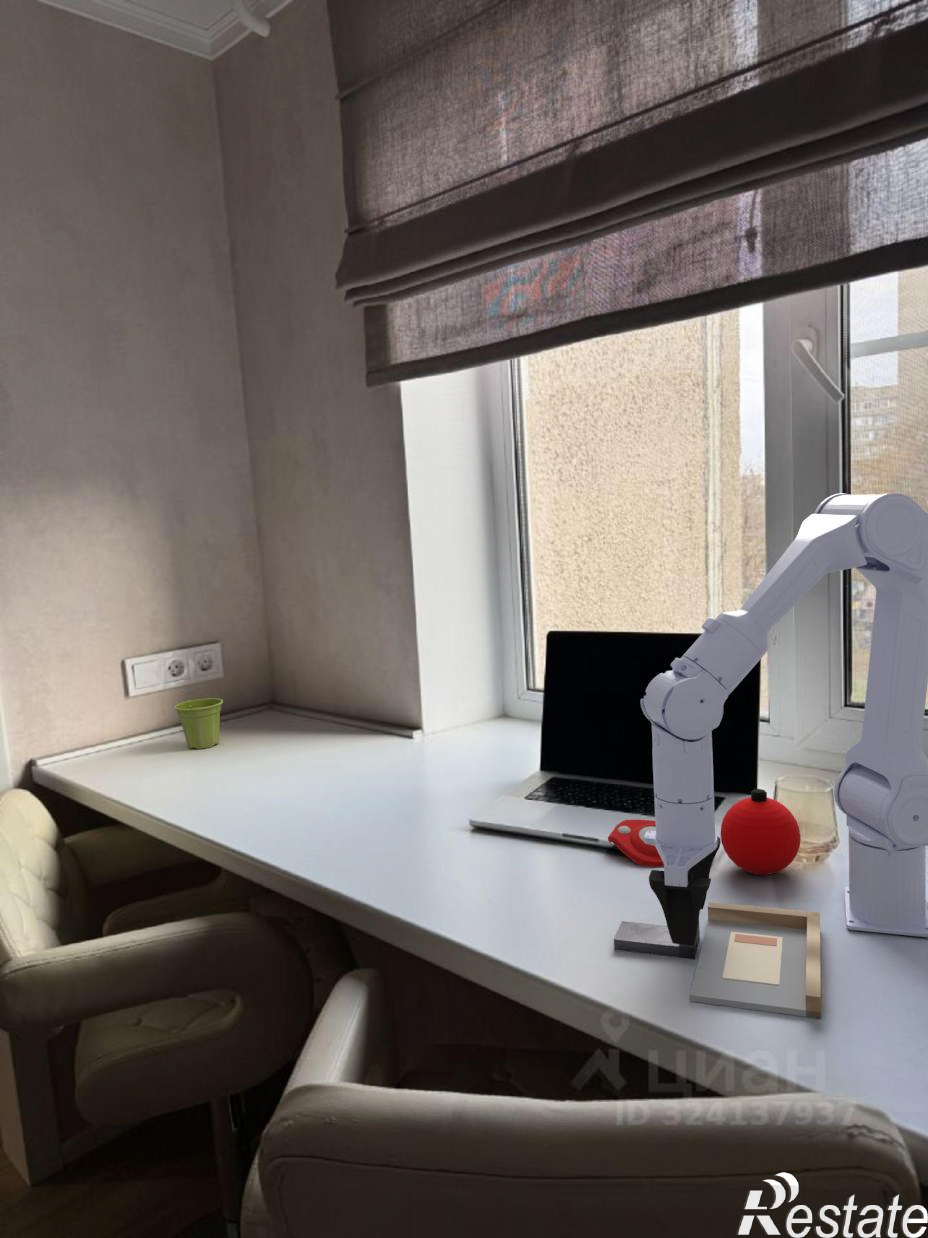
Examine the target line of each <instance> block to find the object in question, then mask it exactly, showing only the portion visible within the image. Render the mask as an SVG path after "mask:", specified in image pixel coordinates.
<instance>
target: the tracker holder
mask: <svg viewBox="0 0 928 1238" xmlns="http://www.w3.org/2000/svg"><path fill="white" fill-rule="evenodd" d="M647 831H656V824H655V820H649V819H648V820H647V819H625V820H623V821H620V822H619V823H618V824H616V826H615V827H614V828H613V830H612V831H611V832H610V834H609V835H608V836H607V841H608V842H609V843H610V842H613V843H614V844H615V845H616V846H615V847H617V849H618V850H619V851H621V853H622V854H624V855H625V856H626V857H627V858H628V859H630V860H631V861H633V862H634V863H636V864H637V865H640V866H643V867H649V868H650V867H653V868H654V867H656V868H657V867H664V863H663V861H662V859H661V857H660V855H659V853H658V851H657V849H656V847H655V846H654V845H651V844H645V843H644V835H645V833H646V832H647Z"/></svg>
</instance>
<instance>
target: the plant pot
mask: <svg viewBox="0 0 928 1238" xmlns="http://www.w3.org/2000/svg"><path fill="white" fill-rule="evenodd" d="M223 703H224V700H223V699H222V698H218V697H217V698H215V697H214V698H213V697H212V698H210V697H208V698H199V699H198V698H197V699H192V700H187V701H183V702H180V703H177V704H175V705H174V706H173V709H174V710H175V711H176V713H177V716H178V718H179V720H180V722H181V727H182V730H183V733H184V737H185V741H186V744H187V748H188V749H196V750H202V749H207V748H211V747H214V745H219V743H220V724H221V723H220V722H221V721H220V719H221V716H220V715H221V711H222V704H223Z"/></svg>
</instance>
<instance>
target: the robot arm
mask: <svg viewBox="0 0 928 1238" xmlns="http://www.w3.org/2000/svg"><path fill="white" fill-rule="evenodd" d="M848 569H856V570H857V571H858V572H859V573H860V574H861V575H863V577H864V578H865V579H866V580H867V581H868V582H869V583H870V584H871V585H872V586H873V587H874V588H875V592H876V593H875V600H874V602H875V603H874V609H873V610H874V611H873V612H874V613H873V620H872V628H871V631H872V633H871V641H870V651H869V652H870V653H869V661H868V663H869V664H868V671H867V681H866V691H865V701H864V712H863V722H862V732H861V739H860V740H858V741H857V742H856V743H854V744H853V745H852V746H851V747H849V749H847V750H846V753H845V760H844V765H843V768H842V770H841V771H840V774H839V775H838V777H837V779H836V781H835V784H834V790H833V791H834V792H833V793H834V795H833V796H834V799H835V800H834V801H835V803H836V805H837V807H838V808H839V810H840V811H841V812H842V813H844V814H845V815H846V826H847V827H848V830H847V831H848V883H849V884H848V886H844V887H843V893H844V894H843V895H844V898H843V899H844V911H845V912H844V913H845V925H846V929H848V930H851V931H860V932H861V931H862V932H870V933H872V932H873V933H881V934H889V935H890V934H892V935H903V936H910V937H913V936H914V937H921V938H928V904H927V900H926V896H927V895H926V893H927V891H926V888H927V887H926V870H927V867H926V863H927V862H926V860H927V859H926V857H927V856H926V849H927V848H926V847H928V758H927V756H926V755H925V752H923V749H922V737H923V729H924V719H925V711H926V710H925V709H926V699H927V694H928V693H927V692H928V513H927V511H925V510H924V509H923V508H922V507H921V506H920V504H918V503H917V502H916V501H915V500H914V499H913V498H911V497H910V496H908V495H906V494H903V493H899V492H890V493H883V494H849V493H835V494H832V495H830V496H828V497H826V498H825V499H824V500H823V501H821V503H820V504H818V505H817V507H816V509H815V511H814V513H812V514H809V516H808V517H806V518H805V519H804V520H803V521H802V523H801V525H800V528H799V530H798V533H797V535H796V537H795V538H794V540H793V542H791V543H790V544H789V546H788V547H787V548H786V550H785V551H784V552H783V554H782V555H781V556H780V558H779V559H778V560H777V562H776V563H775V564H774V565H773V567H772V568H771V569H770V570H769V572H767V574H766V575H765V577H764V578H763V579H762V581H761V582H760V583H759V584H758V585H757V587H756V588H755V590H753V592H752V593H751V595H750V596H749V597H748V598H747V599H746V601H745V602H744V604H743V605H742V606H740V608H739V609H737V610H736V611H734V610H733V611H723V612H720V613H719V614H718V615H717V616H716V617H715V618H713V617H708V618H707V619H706V620H705V621H704V622H703V623H702V625H701V628H702V629H703V630H704V631H703V632H702V633H701V634H700V635H699V636H698V638H697V639H696V640H695V641H694V642H693V644H692V645H691V646H690V647H689V648H688V649H687V650H686V652H685V653H683V655H682V656H681V657H680V658H679V657H675V658H674V660H673V661H671V663H670V667H671V668H672V670H666V671H665V672H664V673H663V672H661V673H659V674H657V675H656V676H655V677H653V678H652V679H651V681H650V682H649V683H648V685H647V687H646V688H645V693H646V694H645V695H643V698H640V700H639V701H640V702H639V703H640V708H641V710H642V712H643V715H644V716H645V717H646V719H648V721H650V723H651V733H652V734H651V736H652V739H651V740H652V750H651V751H652V754H651V755H652V774H653V794H654V795H653V796H654V797H653V798H654V800H653V801H654V821H655V824H656V831H647V832H646V833H645V835H644V843H645V844H651V845H654V846H655V847H656V849H657V851H658V853H659V855H660V857H661V859H662V861H663V863H664V866H663V870H657V869H651V871H650V873H649V876H648V883H649V887H650V889H651V890H652V892H653V893H654V895H655V896H656V899H657V900H658V902H659V904H660V906H661V909H662V912H663V914H664V918H665V923H666V926H667V927H668V930H669V934H670V937H671V940H672V943H674V944H683V945H691V946H693V945H694V943H695V940H696V936H697V930H698V923H699V924H700V914H701V913H700V912H701V910H704V907H705V904H706V901H707V894H708V890H709V889H710V886H711V882H712V878H710V873H711V869H712V868H711V867H712V865H713V863H714V860H715V857H716V855H717V853H718V851H719V849H720V848H721V847H720V846H721V844H722V842H721V837H720V836H717V834H716V822H715V821H716V820H715V819H716V818H715V816H716V815H715V791H714V790H715V789H714V788H715V787H714V763H713V762H714V761H713V760H714V759H713V758H714V757H713V755H714V754H713V738H712V737H713V735H712V732H713V730H714V729H717V728H718V727H719V726H720V723H721V722H722V719H723V715H724V705H725V702H726V700H727V699H729V695H730V694H731V693H732V692H733V691H734V690H735V689H736V688H737V687H738V685H740V683H741V682H742V681H743V679H744V678H745V677H746V676H748V674H749V673H750V672H751V671H752V669H753V668H754V667H755V666H756V665H757V664H758V663H759V662H760V660H761V659H762V658H763V657H764V656H765V655H766V654H767V653H768V650H769V634H768V633H769V632H770V630H772V628H774V626H775V625H777V623H778V622H780V621H781V619H783V618H784V616H786V614H788V612H789V611H790V610H791V609H792V608H794V606H795V605H797V603H798V602H800V600H801V599H802V598H803V597H804V596H805V595H806V594H807V593H808V592H809V591H810V590H811V589H812V588H814V587H815V585H816V584H817V583H818V582H819V581H820V580H821V579H822V578H823V577H824V576H825V575H827V574H831V573H835V572H839V571H845V570H848Z"/></svg>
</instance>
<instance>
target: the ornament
mask: <svg viewBox="0 0 928 1238" xmlns="http://www.w3.org/2000/svg"><path fill="white" fill-rule="evenodd" d="M801 840H802V839H801V831H800V826H799V823H798V821H797V819H796V818H795V816H794V814H793V813H792V811H790V810H789V808H788V807H787V806H785V805H783V803H781V802H780V801H778V800H776V799H773V798H770V797H768V793H767V791H766V790H765V789H762V788H756V789H752V790H751V791H750V796H749V797H746V798H742V799H741V800H738V801H737V802H735V803H733V804H732V806H731V807H730V808H729V809H728V810H727V811H726V813H725V814H724V816H723V818H722V821H721V824H720V842H721V844H722V847H723V850H724V852H725V854H726V855H727V856H728V858H729V859H730V860H731V862H733V864H734V865H736V866H737V867H739V868H740V869H742V870H744V871H745V872H748V873H751V874H754V875H759V876H761V875H762V876H764V875H765V876H766V875H772V874H776V873H779V872H781V871H782V870H784V869H786V868H787V867H788V866H790V864H791V863H792V862H794V860H795V858H796V857H797V855H798V853H799V849H800V847H801Z"/></svg>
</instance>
